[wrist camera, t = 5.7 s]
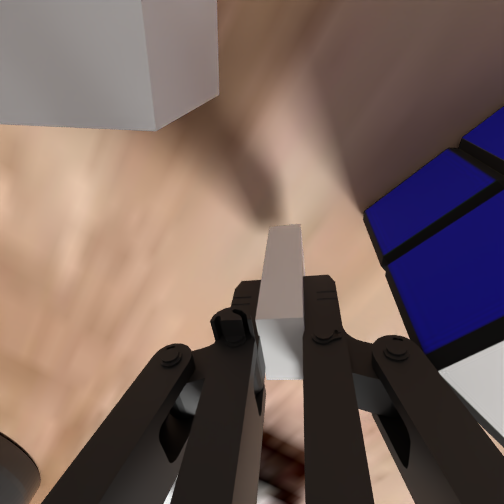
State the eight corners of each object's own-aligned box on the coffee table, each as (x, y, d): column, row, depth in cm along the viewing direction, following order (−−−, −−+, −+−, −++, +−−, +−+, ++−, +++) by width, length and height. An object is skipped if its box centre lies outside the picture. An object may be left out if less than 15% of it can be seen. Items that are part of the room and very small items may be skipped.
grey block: (111, 90, 16) (-32, 122, 9) (87, -53, 13) (-138, -161, 6) (219, 94, 15) (156, 131, 9) (215, -53, 13) (121, -170, 6)
